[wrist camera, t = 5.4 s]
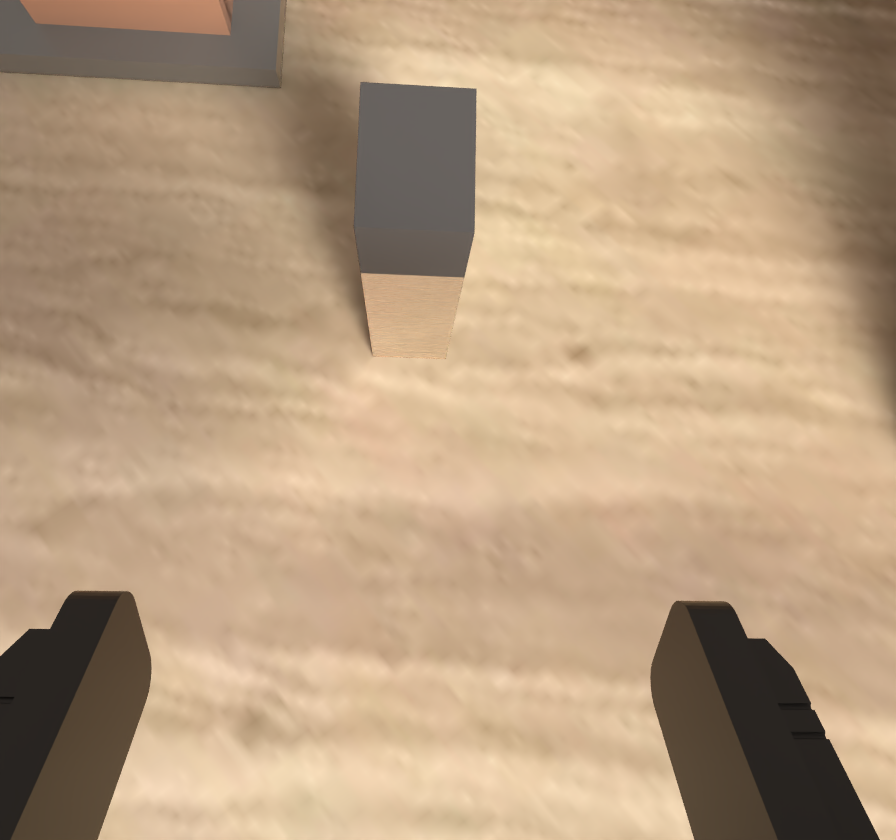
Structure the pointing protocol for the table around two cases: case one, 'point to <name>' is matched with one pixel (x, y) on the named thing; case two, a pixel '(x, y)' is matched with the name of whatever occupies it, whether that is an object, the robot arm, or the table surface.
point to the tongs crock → (146, 39)
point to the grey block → (414, 212)
